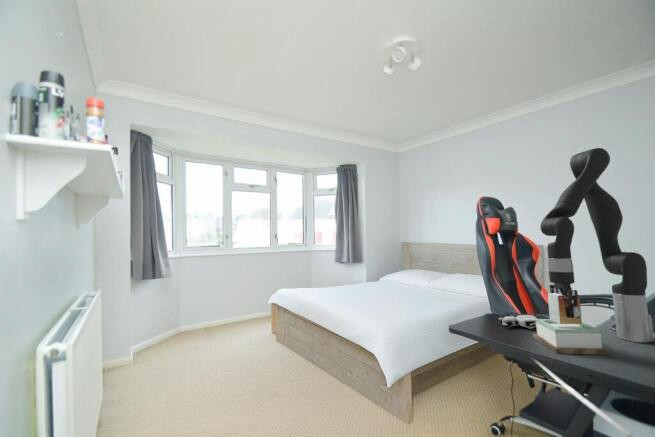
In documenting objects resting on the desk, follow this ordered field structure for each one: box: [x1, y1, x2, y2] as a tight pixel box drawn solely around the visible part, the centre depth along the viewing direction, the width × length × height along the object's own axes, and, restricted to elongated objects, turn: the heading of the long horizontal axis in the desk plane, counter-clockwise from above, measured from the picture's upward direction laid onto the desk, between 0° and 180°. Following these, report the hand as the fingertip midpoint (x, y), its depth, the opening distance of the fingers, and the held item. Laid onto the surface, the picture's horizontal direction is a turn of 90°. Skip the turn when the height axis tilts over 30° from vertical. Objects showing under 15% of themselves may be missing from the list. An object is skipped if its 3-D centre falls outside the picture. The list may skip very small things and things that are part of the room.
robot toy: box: [498, 314, 538, 330], centre depth 137 cm, size 12×4×15 cm
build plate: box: [532, 333, 610, 356], centre depth 112 cm, size 16×17×2 cm
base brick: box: [536, 318, 603, 348], centre depth 112 cm, size 14×14×6 cm
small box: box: [547, 292, 583, 324], centre depth 113 cm, size 8×6×10 cm
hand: (565, 315), depth 113 cm, fingers closed on small box, 6 cm apart
